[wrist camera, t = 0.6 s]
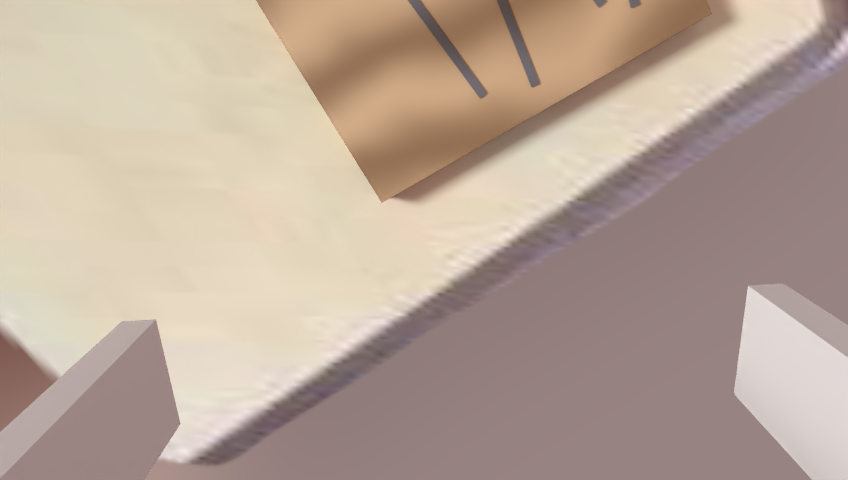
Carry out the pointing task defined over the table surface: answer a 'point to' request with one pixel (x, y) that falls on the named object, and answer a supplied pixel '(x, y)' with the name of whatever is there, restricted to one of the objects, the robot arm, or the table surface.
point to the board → (456, 67)
